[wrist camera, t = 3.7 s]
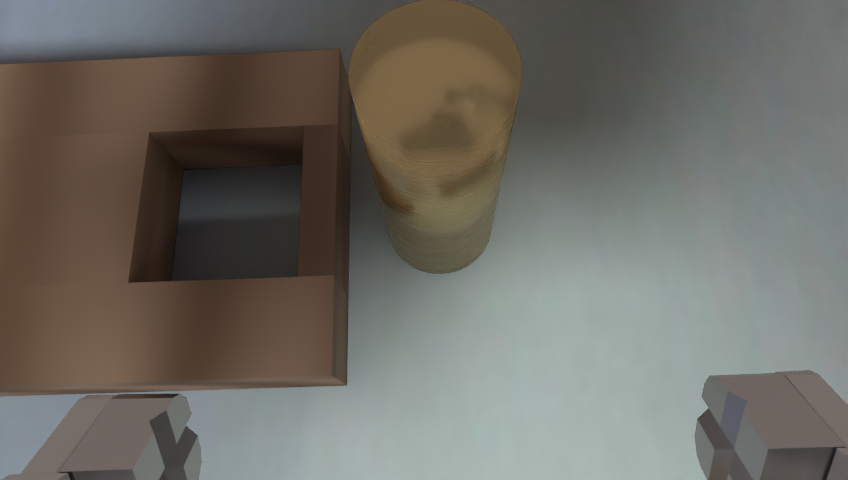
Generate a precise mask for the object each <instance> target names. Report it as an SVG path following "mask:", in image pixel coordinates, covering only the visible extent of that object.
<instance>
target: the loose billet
mask: <svg viewBox="0 0 848 480" xmlns="http://www.w3.org/2000/svg"><path fill="white" fill-rule="evenodd" d="M348 75H349V86H350V90H351V95H352V98H353V102H354V106H355V110H356V113H357V117H358V121H359V125H360V128H361V132H362V136H363V140H364V143H365V147H366V151H367V155H368V158H369V162H370V166H371V170H372V173H373V177H374V181H375V185H376V188H377V192H378V196H379V200H380V204H381V207H382V211H383V215H384V219H385V222H386V226H387V230H388V234H389V237H390V240H391V243H392V245H393V247H394V249H395V251H396V252H397V253H398V255H399V256H400V257H401V258H402V259H403V260H404V261H405V262H406V263H408V264H409V265H411V266H412V267H414V268H416V269H419V270H421V271H424V272H428V273H434V274H444V273H451V272H455V271H458V270H460V269H463V268H465V267H467V266H468V265H470V264H471V263H473V262H474V261H475V260H476V259H477V258H478V257H479V256H480V255H481V253H482V252H483V251H484V249H485V247H486V246H487V243H488V241H489V238H490V234H491V229H492V224H493V219H494V214H495V210H496V205H497V200H498V195H499V190H500V185H501V180H502V175H503V170H504V165H505V160H506V156H507V151H508V146H509V141H510V136H511V131H512V126H513V121H514V116H515V111H516V107H517V102H518V97H519V92H520V87H521V80H522V63H521V58H520V54H519V51H518V48H517V46H516V44H515V42H514V40H513V38H512V37H511V35H510V34H509V32H508V31H507V30H506V29H505V28H504V27H503V26H502V24H501V23H499V22H498V21H497V20H496V19H495V18H493V17H492V16H491V15H489V14H487V13H486V12H484V11H482V10H480V9H478V8H476V7H474V6H471V5H468V4H465V3H462V2H457V1H452V0H421V1H417V2H412V3H408V4H405V5H402V6H400V7H397V8H395V9H393V10H391V11H389V12H387V13H386V14H384V15H382V16H381V17H380V18H378V19H377V20H376V21H374V22H373V23H372V24H371V25H370V26H369V27H368V28H367V29H366V30H365V32H364V33H363V34H362V36H361V37H360V39H359V40H358V42H357V44H356V45H355V48H354V50H353V53H352V55H351V59H350V63H349V73H348Z"/></svg>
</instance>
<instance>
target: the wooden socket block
mask: <svg viewBox="0 0 848 480" xmlns="http://www.w3.org/2000/svg"><path fill="white" fill-rule="evenodd" d="M350 152H351V91H350V87H349V83H348V79H347V76H346V72H345V68H344V64H343V61H342V57H341V53H340V49H328V50H306V51H284V52H262V53H240V54H218V55H196V56H174V57H152V58H129V59H107V60H85V61H63V62H41V63H19V64H0V396H23V395H55V394H87V393H119V392H151V391H183V390H215V389H247V388H279V387H311V386H344V385H347V347H348V282H349V217H350ZM295 164H302V185H301V208H300V230H299V253H298V275H297V277H275V278H247V279H219V280H191V281H171V273H172V265H173V256H174V247H175V239H176V230H177V222H178V213H179V205H180V196H181V187H182V179H183V170H184V169H196V168H221V167H246V166H271V165H295Z"/></svg>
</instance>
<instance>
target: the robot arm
mask: <svg viewBox="0 0 848 480" xmlns="http://www.w3.org/2000/svg"><path fill="white" fill-rule="evenodd" d="M702 398H703V400H704V401H705V403H706V404H707V406H708V409H707V410H706V411H705V412H704V413H703V414H702V415H701V416H700V417H699V418H698V419H697V424H696V431H695V444H696V453H697V457H698V460H699V463H700V466H701V468H702V470H703V472H704V474H705V476H706V478H707V480H848V405H847V404H846V403H845V402H844V401H843V400H842V398H841V397H840V396H839V395H838V394H837V393H836V392H835V391H834V390H833V389H832V388H831V387H830V386H829V385H828V384H827V383H826V381H825V380H824V379H823V378H822V377H821V376H820V375H818V374H817V373H815V372H813V371H810V370H804V371H786V372H776V373H763V374H738V375H713V376H709V377H708V379H707V380H706V382H705V383H704V388H703V393H702ZM191 414H192V413H191V410H190V407H189V403H188V400H187V397H185V396H183V395H181V394H119V395H88V396H86V397H83V398H81V399H79V400H78V401H77V402H76V404H75V405H74V406H73V407H72V409H71V410H70V411H69V412H68V414H67V415H66V416H65V418H64V419H63V420H62V421H61V423H60V424H59V425H58V427H57V428H56V429H55V430H54V432H53V433H52V434H51V436H50V437H49V438H48V439H47V441H46V442H45V443H44V444H43V446H42V447H41V448H40V450H39V451H38V452H37V453H36V455H35V456H34V457H33V459H32V460H31V461H30V462H29V464H28V465H27V466H26V468H25V469H24V470H23V471H22V473H21V474H19V475H9V476H7V477H5V478H4V479H2V480H199V475H200V469H201V463H202V460H201V447H200V443H199V439H198V435H196V434H195V433H194V432H193V431H192V430H190V429H189V428H188V427H187V426H186V425H187V423H188V420H189V418H190V416H191Z"/></svg>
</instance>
